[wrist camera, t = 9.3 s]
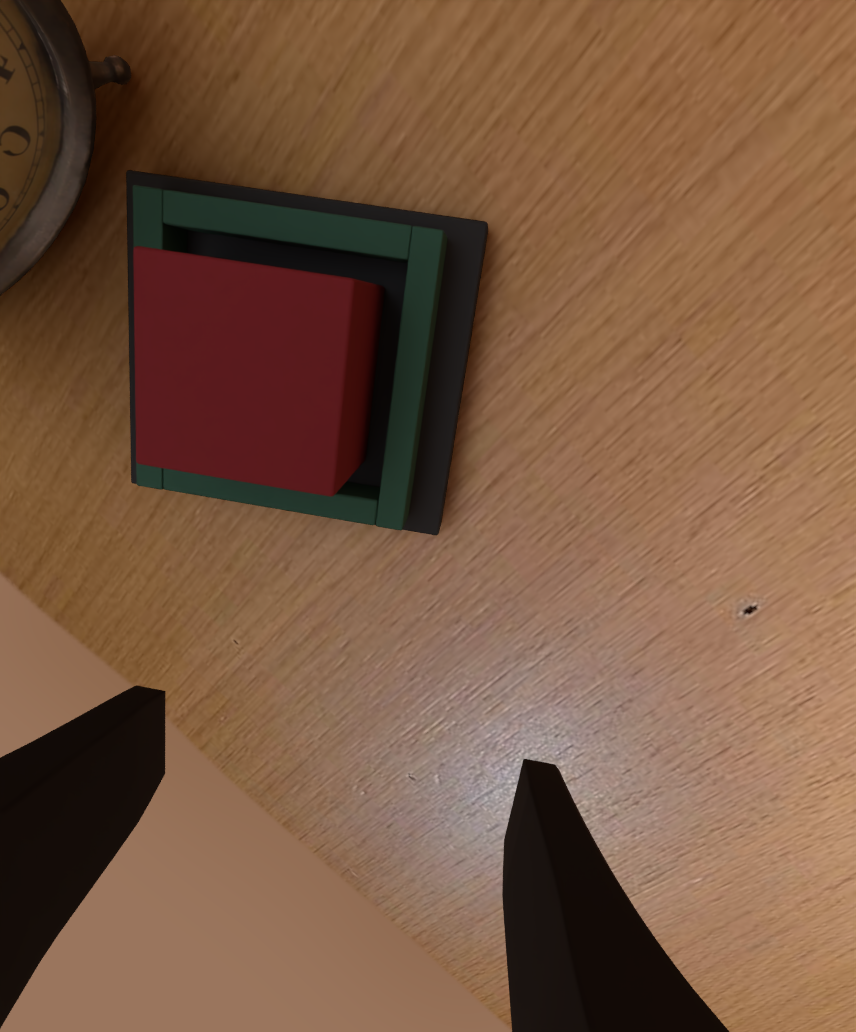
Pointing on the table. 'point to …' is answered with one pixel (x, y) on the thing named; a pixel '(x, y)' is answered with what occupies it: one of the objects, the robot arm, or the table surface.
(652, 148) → the table surface
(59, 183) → the alarm clock
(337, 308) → the red cube
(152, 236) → the base pad
